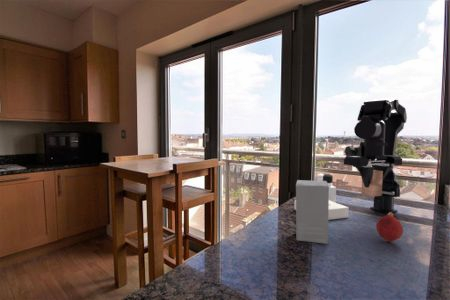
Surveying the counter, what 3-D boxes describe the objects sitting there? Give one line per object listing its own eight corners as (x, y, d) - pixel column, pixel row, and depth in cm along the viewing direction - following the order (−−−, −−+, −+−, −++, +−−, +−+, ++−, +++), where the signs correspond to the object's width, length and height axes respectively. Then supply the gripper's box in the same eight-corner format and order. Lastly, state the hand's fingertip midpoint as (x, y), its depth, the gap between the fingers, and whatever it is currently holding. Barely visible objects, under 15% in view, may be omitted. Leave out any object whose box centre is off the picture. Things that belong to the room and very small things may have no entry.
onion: (394, 248, 59) (395, 217, 59) (371, 239, 64) (372, 211, 64) (406, 244, 62) (408, 214, 62) (383, 235, 67) (384, 208, 67)
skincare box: (326, 235, 67) (328, 180, 66) (328, 246, 60) (331, 185, 59) (295, 231, 70) (296, 178, 69) (294, 241, 63) (295, 182, 62)
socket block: (322, 206, 94) (322, 197, 94) (348, 217, 82) (348, 207, 82) (294, 209, 91) (294, 200, 90) (316, 221, 78) (317, 210, 78)
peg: (370, 192, 80) (371, 169, 79) (381, 195, 76) (382, 171, 75) (361, 193, 79) (362, 169, 78) (372, 196, 75) (373, 171, 74)
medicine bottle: (329, 199, 105) (330, 173, 104) (335, 204, 97) (336, 175, 97) (313, 199, 105) (314, 172, 104) (317, 203, 98) (318, 175, 97)
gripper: (373, 138, 87) (371, 180, 88) (332, 138, 81) (330, 183, 82) (404, 139, 76) (401, 187, 77) (359, 139, 70) (357, 190, 71)
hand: (371, 186), depth 77 cm, fingers closed on peg, 4 cm apart
